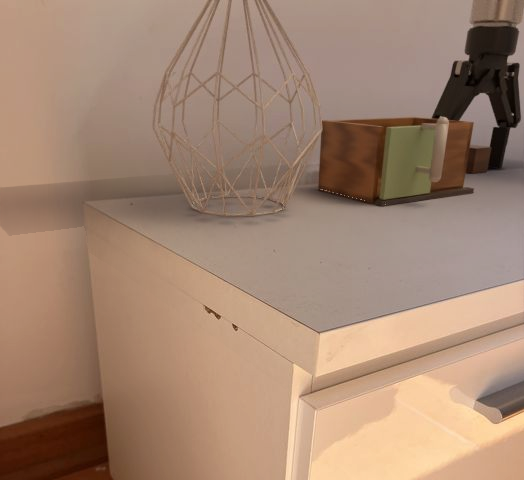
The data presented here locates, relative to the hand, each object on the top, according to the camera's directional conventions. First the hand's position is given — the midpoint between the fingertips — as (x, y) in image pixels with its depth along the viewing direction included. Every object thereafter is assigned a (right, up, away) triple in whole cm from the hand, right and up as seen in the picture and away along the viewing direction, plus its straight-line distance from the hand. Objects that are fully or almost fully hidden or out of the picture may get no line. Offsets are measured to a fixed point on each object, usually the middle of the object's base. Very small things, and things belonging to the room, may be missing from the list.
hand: (468, 170), depth 97 cm
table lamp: (-38, -13, -28) cm, 49 cm away
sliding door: (-16, -12, -26) cm, 33 cm away
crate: (-17, -8, -17) cm, 26 cm away
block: (0, 0, 0) cm, 0 cm away
